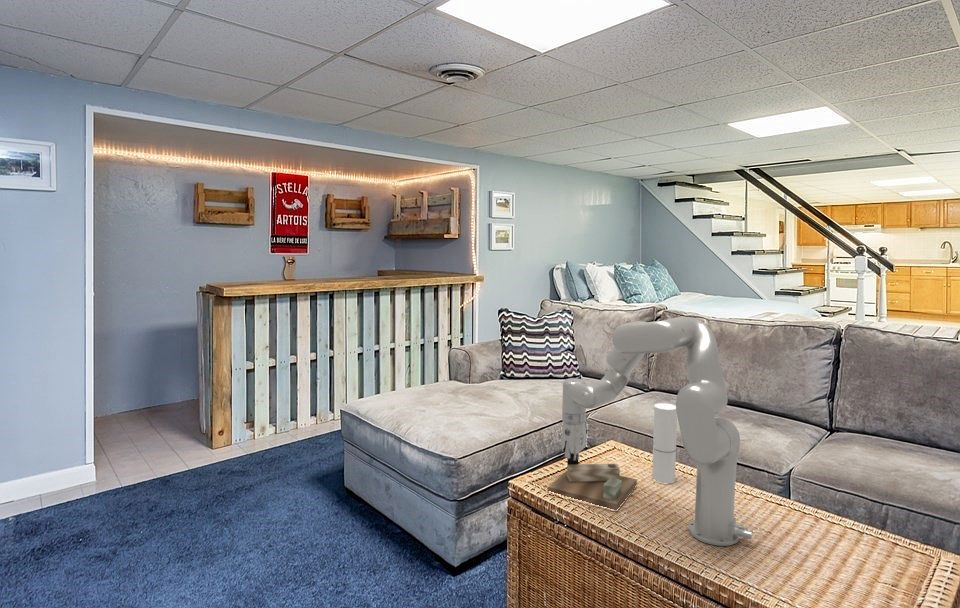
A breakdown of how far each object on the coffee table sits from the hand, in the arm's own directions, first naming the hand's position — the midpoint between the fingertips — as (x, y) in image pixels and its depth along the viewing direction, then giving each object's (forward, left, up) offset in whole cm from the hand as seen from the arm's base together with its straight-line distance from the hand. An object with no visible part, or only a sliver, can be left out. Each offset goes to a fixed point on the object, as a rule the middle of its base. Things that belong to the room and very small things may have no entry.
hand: (572, 470), depth 179 cm
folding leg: (-7, 0, -1) cm, 7 cm away
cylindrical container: (-25, -17, -4) cm, 31 cm away
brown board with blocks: (-8, +3, -4) cm, 9 cm away
